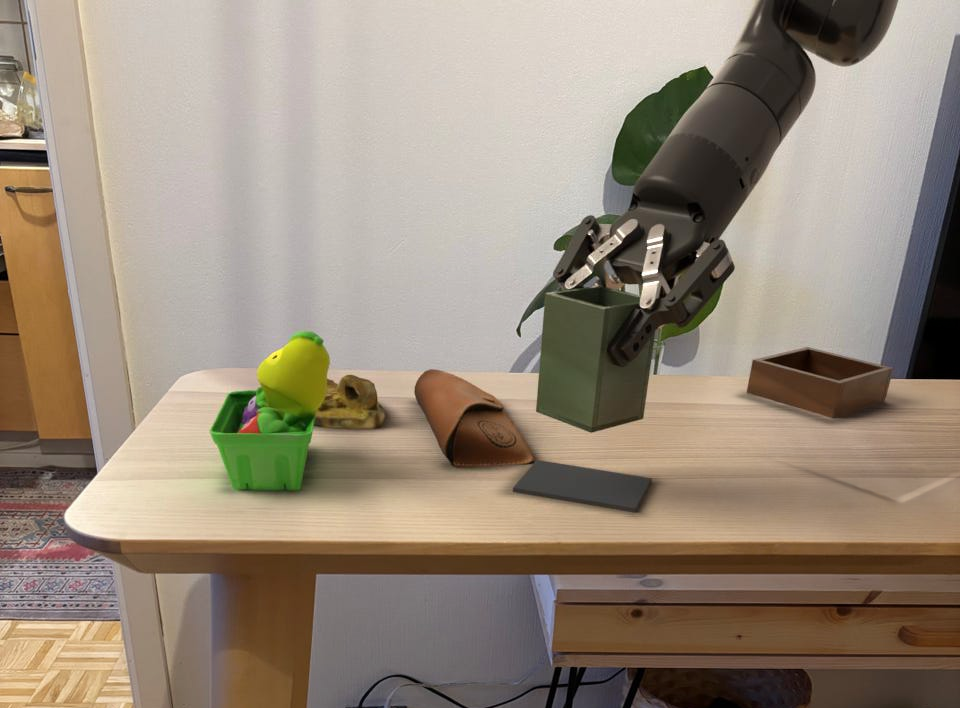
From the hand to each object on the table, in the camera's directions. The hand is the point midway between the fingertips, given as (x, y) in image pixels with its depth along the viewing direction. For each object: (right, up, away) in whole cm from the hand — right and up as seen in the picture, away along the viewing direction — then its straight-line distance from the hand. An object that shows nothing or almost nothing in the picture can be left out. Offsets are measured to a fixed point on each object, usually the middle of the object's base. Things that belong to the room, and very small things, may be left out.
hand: (581, 348), depth 71 cm
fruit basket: (-24, -8, +7) cm, 26 cm away
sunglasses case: (-8, -3, +18) cm, 20 cm away
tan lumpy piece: (-23, 0, +22) cm, 31 cm away
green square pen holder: (+1, -4, +4) cm, 6 cm away
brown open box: (+28, +4, +31) cm, 42 cm away
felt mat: (+1, -9, +7) cm, 12 cm away
